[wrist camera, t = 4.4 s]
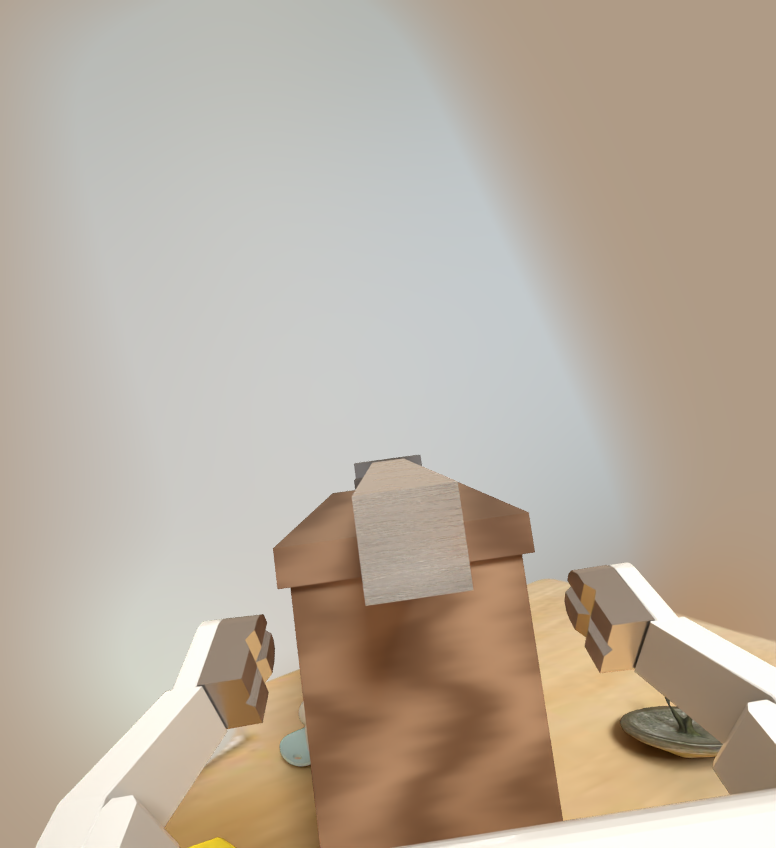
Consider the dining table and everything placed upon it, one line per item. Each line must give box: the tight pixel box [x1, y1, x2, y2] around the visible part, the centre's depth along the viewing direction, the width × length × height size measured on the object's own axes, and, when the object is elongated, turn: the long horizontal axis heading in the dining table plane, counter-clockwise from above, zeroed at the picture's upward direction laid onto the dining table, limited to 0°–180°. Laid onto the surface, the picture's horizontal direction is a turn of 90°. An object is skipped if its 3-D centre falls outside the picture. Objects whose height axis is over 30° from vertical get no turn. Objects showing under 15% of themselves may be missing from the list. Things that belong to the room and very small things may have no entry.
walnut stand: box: [273, 455, 563, 848], centre depth 29 cm, size 13×23×29 cm, turn 1°
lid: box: [620, 697, 723, 758], centre depth 33 cm, size 11×10×5 cm
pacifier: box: [280, 701, 311, 766], centre depth 39 cm, size 7×6×6 cm
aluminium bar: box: [352, 459, 473, 606], centre depth 23 cm, size 3×25×3 cm, turn 1°
